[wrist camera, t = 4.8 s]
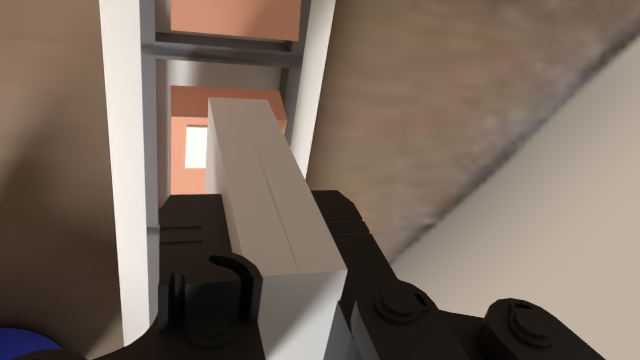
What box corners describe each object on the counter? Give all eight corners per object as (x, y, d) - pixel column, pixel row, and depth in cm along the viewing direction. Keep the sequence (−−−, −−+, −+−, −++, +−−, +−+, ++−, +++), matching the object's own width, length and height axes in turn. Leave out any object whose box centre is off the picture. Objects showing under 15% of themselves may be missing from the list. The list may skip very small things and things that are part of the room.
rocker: (170, 85, 14) (171, 118, 13) (279, 90, 15) (287, 122, 14) (169, 199, 17) (170, 232, 16) (257, 197, 18) (263, 228, 17)
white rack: (99, -255, 14) (70, -315, 9) (324, -197, 16) (386, -223, 12) (129, 278, 24) (122, 368, 20) (263, 269, 27) (284, 348, 22)
